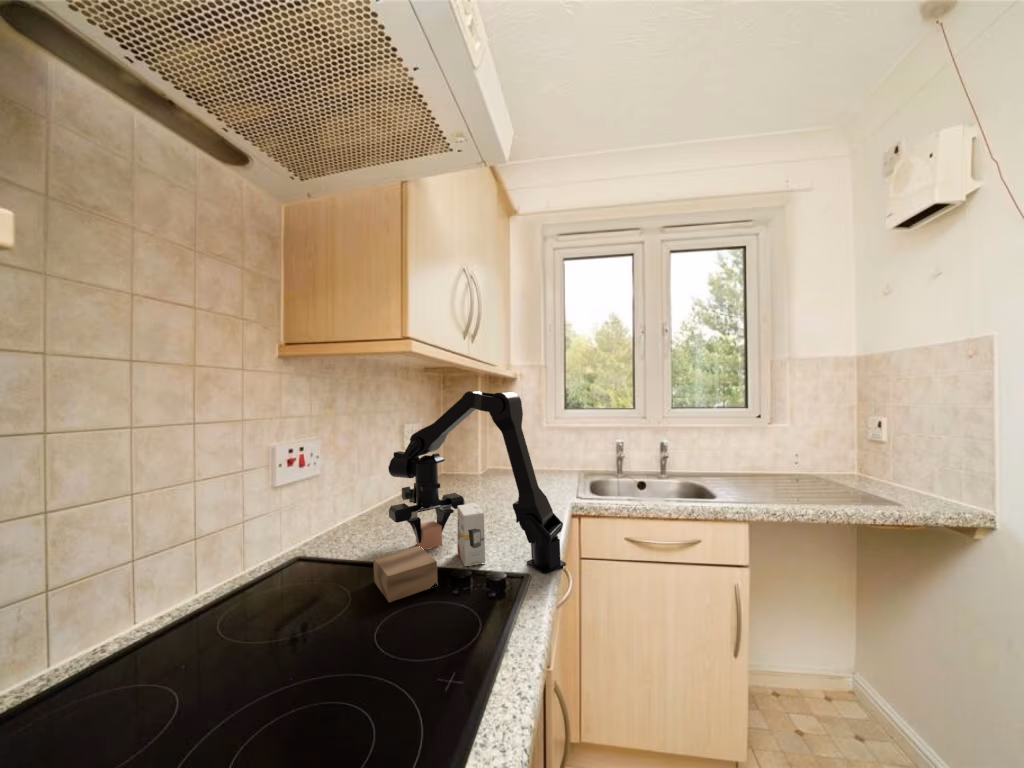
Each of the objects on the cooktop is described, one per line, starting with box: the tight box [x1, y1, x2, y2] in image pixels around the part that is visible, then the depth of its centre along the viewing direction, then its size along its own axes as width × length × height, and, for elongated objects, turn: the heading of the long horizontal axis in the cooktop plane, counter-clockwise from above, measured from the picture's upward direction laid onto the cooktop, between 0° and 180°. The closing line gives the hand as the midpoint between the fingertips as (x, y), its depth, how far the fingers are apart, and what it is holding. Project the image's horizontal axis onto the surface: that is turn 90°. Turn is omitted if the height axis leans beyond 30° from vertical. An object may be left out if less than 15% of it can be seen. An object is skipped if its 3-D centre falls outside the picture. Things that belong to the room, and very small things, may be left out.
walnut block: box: [373, 545, 439, 603], centre depth 82 cm, size 10×10×5 cm
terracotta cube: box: [415, 520, 443, 550], centre depth 102 cm, size 5×5×5 cm
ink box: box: [456, 502, 486, 567], centre depth 93 cm, size 9×5×12 cm, turn 19°
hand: (429, 539), depth 102 cm, fingers closed on terracotta cube, 5 cm apart
